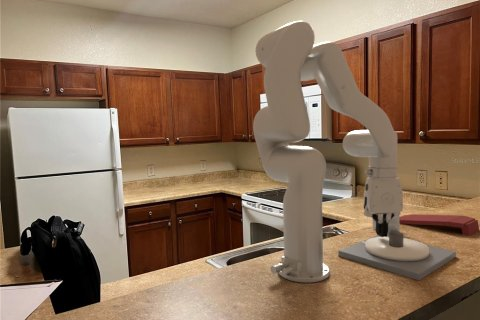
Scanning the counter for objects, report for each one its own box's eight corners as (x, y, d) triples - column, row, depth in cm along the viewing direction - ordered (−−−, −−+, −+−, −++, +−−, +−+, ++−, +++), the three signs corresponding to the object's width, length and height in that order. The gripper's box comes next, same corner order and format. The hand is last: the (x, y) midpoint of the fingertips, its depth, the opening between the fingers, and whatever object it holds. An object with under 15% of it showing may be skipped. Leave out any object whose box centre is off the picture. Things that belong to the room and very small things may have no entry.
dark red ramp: (393, 232, 129) (467, 237, 109) (391, 219, 130) (464, 222, 110) (409, 226, 137) (481, 230, 116) (407, 214, 137) (479, 215, 117)
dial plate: (419, 280, 79) (419, 273, 79) (338, 255, 96) (338, 249, 96) (455, 256, 93) (455, 250, 93) (379, 238, 110) (379, 233, 110)
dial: (437, 263, 85) (437, 244, 84) (368, 258, 89) (368, 240, 88) (420, 242, 100) (420, 226, 100) (362, 239, 104) (362, 224, 104)
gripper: (364, 175, 94) (363, 240, 95) (414, 173, 96) (413, 238, 97) (352, 172, 102) (351, 233, 103) (399, 171, 103) (398, 230, 105)
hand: (381, 235), depth 100 cm, fingers closed
